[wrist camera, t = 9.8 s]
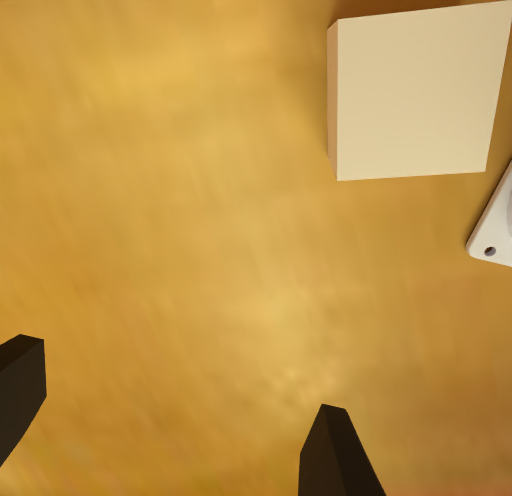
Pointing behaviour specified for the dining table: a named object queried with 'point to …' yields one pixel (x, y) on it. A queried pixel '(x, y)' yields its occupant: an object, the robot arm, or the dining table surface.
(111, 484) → the dining table surface
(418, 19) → the cream block
